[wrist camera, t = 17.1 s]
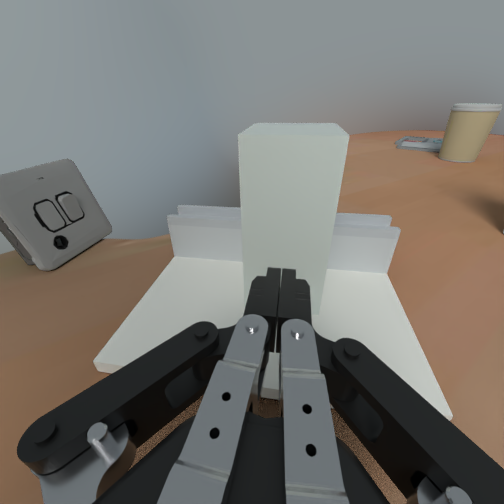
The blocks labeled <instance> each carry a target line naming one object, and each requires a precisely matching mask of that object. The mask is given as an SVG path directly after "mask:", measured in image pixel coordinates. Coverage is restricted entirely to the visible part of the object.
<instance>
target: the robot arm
mask: <svg viewBox="0 0 504 504" xmlns="http://www.w3.org/2000/svg"><path fill="white" fill-rule="evenodd" d="M280 283H281V287H280ZM276 329H277V336H276ZM275 339H276V353H280V354H279V370H278V373H279V417H275V418H263V417H260V416H258V410H259V404H260V399H261V394H262V390H263V385H264V380H265V375H266V370H267V364H268V361H269V353H270V352H273V353H274V349H275ZM203 394H204V397H203V399H202V402H201V404H200V407H199V409H198V412H197V414H196V415H194V416H193V417H191V418H189V419H187V420H186V421H184V422H183V423H181V424H180V425H179V426H178V427H177V428H176V429H175V430H173V431H172V432H171V433H170V434H169V435H168V436H167V437H166V438H164V439H163V440H162V441H161V442H160V443H159V444H158V445H157V446H156V447H154V448H153V449H152V450H151V451H150V452H149V453H148V454H147V455H145V456H144V457H143V458H142V459H141V460H140V461H139V462H138V463H137V464H135V465H134V466H133V467H132V468H131V469H130V467H131V465H132V464H133V462H134V459H135V456H136V449H137V448H138V447H139V446H141V445H142V444H143V443H144V442H146V441H147V440H148V439H149V438H151V437H152V436H153V435H154V434H155V433H157V432H158V431H159V430H160V429H162V428H163V427H164V426H165V425H167V424H168V423H169V422H170V421H171V420H173V419H174V418H175V417H176V416H178V415H179V414H180V413H181V412H183V411H184V410H185V409H186V408H187V407H189V406H190V405H191V404H192V403H194V402H195V401H196V400H197V399H199V398H200V397H201V396H202V395H203ZM329 402H330V403H329ZM330 404H331V405H332V406H333V407H334V409H335V410H336V411H337V412H338V414H339V415H340V416H341V417H342V419H343V420H344V421H345V422H346V424H347V425H348V426H349V428H350V429H351V430H352V431H353V433H354V434H355V435H356V436H357V438H358V439H359V440H360V441H361V443H362V444H363V445H364V446H365V448H366V449H367V450H368V451H369V453H370V454H371V455H372V456H373V458H374V459H375V460H376V461H377V463H378V464H379V465H380V466H381V468H382V469H383V470H384V471H385V473H386V474H387V475H388V476H389V478H390V479H391V480H392V481H393V483H394V484H395V485H396V486H397V488H398V489H399V490H400V491H401V493H402V494H403V495H404V496H405V498H406V499H407V503H406V504H504V469H503V468H502V467H501V466H500V465H498V464H497V463H496V462H495V461H494V460H493V459H492V458H491V457H489V456H488V455H487V454H486V453H485V452H484V451H483V450H482V449H480V448H479V447H478V446H477V445H476V444H475V443H474V442H473V441H471V440H470V439H469V438H468V437H467V436H466V435H465V434H464V433H462V432H461V431H460V430H459V429H458V428H457V427H456V426H455V425H453V424H452V423H451V422H450V421H449V420H448V419H447V418H446V417H445V416H443V415H442V414H441V413H440V412H439V411H438V410H437V409H436V408H434V407H433V406H432V405H431V404H430V403H429V402H428V401H427V400H425V399H424V398H423V397H422V396H421V395H420V394H419V393H418V392H416V391H415V390H414V389H413V388H412V387H411V386H410V385H409V384H407V383H406V382H405V381H404V380H403V379H402V378H401V377H400V376H398V375H397V374H396V373H395V372H394V371H393V370H392V369H391V368H389V367H388V366H387V365H386V364H385V363H384V362H383V361H382V360H380V359H379V358H378V357H377V356H376V355H375V354H374V353H373V352H371V351H370V350H369V349H368V348H367V347H366V346H365V345H364V344H362V343H361V342H359V341H357V340H355V339H352V338H341V339H338V340H337V341H336V342H334V341H331V340H328V339H326V338H324V337H322V336H320V335H319V334H318V333H317V332H316V331H315V330H314V328H313V326H312V317H311V298H310V286H309V284H308V283H307V281H306V280H304V279H296V269H286V268H282V277H281V268H272V267H268V268H267V274H266V276H256V278H255V279H254V280H253V281H252V283H251V287H250V291H249V295H248V299H247V303H246V306H245V310H244V314H243V317H242V318H240V319H239V320H238V322H237V324H235V325H233V326H231V327H227V328H220V329H217V327H216V325H215V324H213V323H211V322H208V321H201V322H197V323H195V324H193V325H191V326H189V327H188V328H186V329H185V330H183V331H181V332H180V333H178V334H176V335H175V336H173V337H171V338H170V339H168V340H166V341H165V342H163V343H162V344H160V345H158V346H157V347H155V348H153V349H152V350H150V351H148V352H147V353H145V354H144V355H142V356H140V357H139V358H137V359H135V360H134V361H132V362H130V363H129V364H127V365H125V366H124V367H122V368H121V369H119V370H117V371H116V372H114V373H112V374H111V375H109V376H107V377H106V378H104V379H103V380H101V381H99V382H98V383H96V384H94V385H93V386H91V387H89V388H88V389H86V390H84V391H83V392H81V393H80V394H78V395H76V396H75V397H73V398H71V399H70V400H68V401H66V402H65V403H63V404H62V405H60V406H58V407H57V408H55V409H53V410H52V411H50V412H48V413H47V414H45V415H43V416H42V417H40V418H39V419H38V420H36V421H35V422H34V423H33V424H32V425H31V426H30V427H29V428H28V429H27V430H26V431H25V433H24V434H23V436H22V437H21V439H20V441H19V443H18V447H17V455H18V457H19V459H20V460H21V461H22V462H23V463H25V464H26V465H27V466H28V467H29V468H30V470H31V472H32V473H33V474H34V475H35V476H36V477H38V478H39V479H40V484H41V490H42V496H43V501H44V504H390V503H389V502H388V500H387V499H386V497H385V496H384V495H383V493H382V492H381V490H380V489H379V488H378V486H377V485H376V483H375V482H374V481H373V479H372V478H371V476H370V475H369V474H368V472H367V471H366V469H365V468H364V467H363V465H362V464H361V462H360V461H359V460H358V458H357V457H356V455H355V454H354V453H353V452H352V451H351V450H350V448H349V447H348V446H347V445H346V444H345V443H344V442H343V441H341V440H340V439H339V438H338V437H336V436H335V432H334V426H333V420H332V414H331V408H330ZM129 469H130V470H129ZM128 470H129V471H128Z"/></svg>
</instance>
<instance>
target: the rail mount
mask: <svg viewBox="0 0 504 504" xmlns="http://www.w3.org/2000/svg"><path fill="white" fill-rule="evenodd" d="M177 209H178V215H175V214H169V215H168V216H167V221H168V227H169V232H170V237H171V241H172V246H173V251H174V258H173V259H172V260H171V262H170V263H169V264H168V265H167V267H166V268H165V269H164V271H163V272H162V273H161V274H160V276H159V277H158V278H157V279H156V281H155V282H154V283H153V285H152V286H151V287H150V288H149V290H148V291H147V292H146V294H145V295H144V296H143V297H142V299H141V300H140V301H139V303H138V304H137V305H136V306H135V308H134V309H133V310H132V312H131V313H130V314H129V315H128V317H127V318H126V319H125V321H124V322H123V323H122V324H121V326H120V327H119V328H118V330H117V331H116V332H115V333H114V335H113V336H112V337H111V339H110V340H109V341H108V342H107V344H106V345H105V346H104V348H103V349H102V350H101V351H100V353H99V354H98V355H97V357H96V358H95V359H94V360H93V363H94V364H95V366H96V368H97V370H98V371H100V372H106V373H114V372H116V371H117V370H119V369H121V368H122V367H124V366H125V365H127V364H129V363H130V362H132V361H134V360H135V359H137V358H139V357H140V356H142V355H144V354H145V353H147V352H148V351H150V350H152V349H153V348H155V347H157V346H158V345H160V344H162V343H163V342H165V341H166V340H168V339H170V338H171V337H173V336H175V335H176V334H178V333H180V332H181V331H183V330H185V329H186V328H188V327H189V326H191V325H193V324H195V323H197V322H201V321H208V322H211V323H213V324H215V325H216V327H217V329H220V328H227V327H231V326H233V325H235V324H237V322H238V320H239V319H240V318H242V317H243V314H244V310H245V305H244V279H243V252H242V226H241V208H233V207H214V206H195V205H179V206H178V207H177ZM391 220H392V217H391V216H390V215H372V214H352V213H336V217H335V223H334V229H333V235H332V241H331V246H330V252H329V258H328V264H327V270H326V276H325V282H324V288H323V293H322V299H321V305H320V311H319V315H314V314H311V317H312V326H313V328H314V330H315V331H316V332H317V333H318V334H319V335H320V336H322V337H324V338H326V339H328V340H331V341H334V342H336V341H337V340H338V339H341V338H352V339H355V340H357V341H359V342H361V343H362V344H364V345H365V346H366V347H367V348H368V349H369V350H370V351H371V352H373V353H374V354H375V355H376V356H377V357H378V358H379V359H380V360H382V361H383V362H384V363H385V364H386V365H387V366H388V367H389V368H391V369H392V370H393V371H394V372H395V373H396V374H397V375H398V376H400V377H401V378H402V379H403V380H404V381H405V382H406V383H407V384H409V385H410V386H411V387H412V388H413V389H414V390H415V391H416V392H418V393H419V394H420V395H421V396H422V397H423V398H424V399H425V400H427V401H428V402H429V403H430V404H431V405H432V406H433V407H434V408H436V409H437V410H438V411H439V412H440V413H441V414H442V415H443V416H445V417H446V418H447V419H448V420H449V421H450V420H451V419H452V417H453V415H452V413H451V410H450V408H449V406H448V404H447V402H446V400H445V398H444V395H443V393H442V391H441V389H440V387H439V385H438V383H437V380H436V378H435V376H434V374H433V372H432V370H431V368H430V365H429V363H428V361H427V359H426V357H425V355H424V353H423V350H422V348H421V346H420V344H419V342H418V340H417V338H416V335H415V333H414V331H413V329H412V327H411V325H410V323H409V320H408V318H407V316H406V314H405V312H404V310H403V308H402V305H401V303H400V301H399V299H398V297H397V295H396V293H395V290H394V288H393V286H392V284H391V282H390V280H389V278H388V275H387V271H388V268H389V265H390V262H391V259H392V256H393V253H394V250H395V247H396V244H397V241H398V238H399V234H400V231H401V230H400V229H399V227H390V223H391ZM276 336H277V329H276ZM279 354H280V353H276V339H275V349H274V353H273V352H270V353H269V361H268V364H267V370H266V375H265V380H264V385H263V390H262V394H261V397H264V398H270V399H276V400H279V373H278V370H279ZM329 403H330V402H329ZM330 408H333V409H334V407H333V406H332V405H331V404H330Z"/></svg>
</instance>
